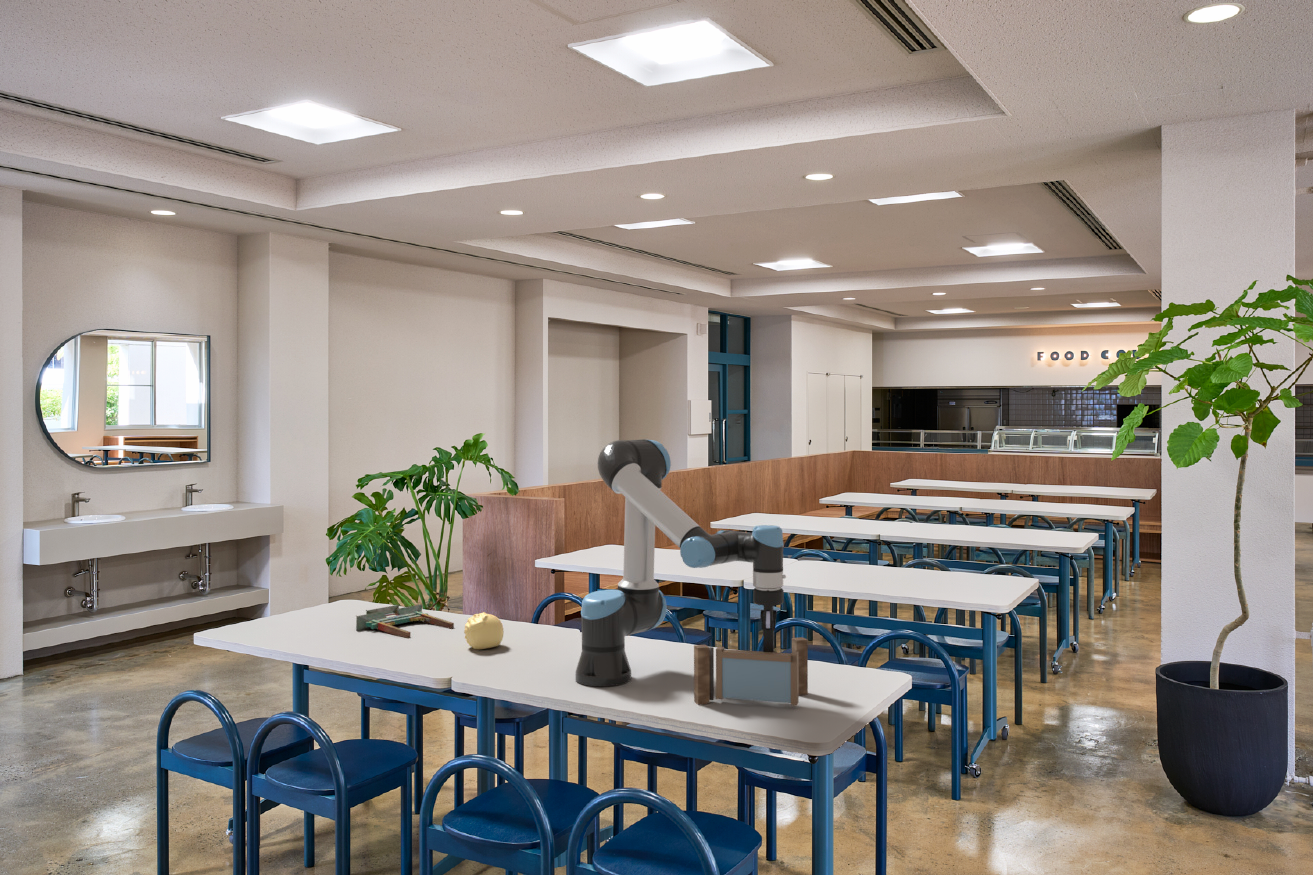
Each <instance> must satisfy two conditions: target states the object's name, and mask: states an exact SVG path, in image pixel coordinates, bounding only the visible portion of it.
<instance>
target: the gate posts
mask: <svg viewBox="0 0 1313 875" xmlns="http://www.w3.org/2000/svg"><path fill="white" fill-rule="evenodd" d="M808 641H809V640H808V639H806V638H805V637H803V636H802V637H792V638H791V652H792V651H795V652H798V669H799V696H806V695H808V694H809V693H808V692H809V691H808V690H809V688H808V687H809V685H808V683H809V682H808V676H809V674H808V673H809V672H808V665H809V664H808V663H809V658H808V652H809V650H808V645H809V644H808ZM714 648H715V647H713V646H708V645H706V644H697V645H696V644H695V645H693V663H694V664H693V691H694V693H693V701H694V703H696V704H697V705H698V706H699V705H700V704H701V705H708V704H707V703H711V702H710V701H714V698H715V694H714V693H715V692H714V691H715V689H714V688H715V685H714V683H715V678H714V676H715V673H714V672H715V670H714V668H715V667H714V666H715V664H714V662H715V658H714V655H715V654H714V653H715V652H714V651H715V649H714Z"/></svg>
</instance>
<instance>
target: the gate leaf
mask: <svg viewBox="0 0 1313 875" xmlns="http://www.w3.org/2000/svg"><path fill="white" fill-rule="evenodd" d="M775 652H776V651H774V652H764V651H758V650H757V651H756V650H755V651H754V650H742V649H741V650H740V649H727V648H725V647H724V646H717V648H715V694H716V695H715V699H716V700H723V699H735V700H744V701H745V700H747V701H761V702H772V703H783V704H790V705H791V706H798V704H799V698H800V697H799V696H800V695H799V669H798V652H795V651H792V650H791V653H787V652H777V653H775Z"/></svg>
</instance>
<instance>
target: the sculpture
mask: <svg viewBox="0 0 1313 875" xmlns="http://www.w3.org/2000/svg"><path fill="white" fill-rule="evenodd" d="M504 631H505V630H504V626H503V623H502V621H501V619H499V618H498V617H497V616H495V615H493V614H491V613H490V614H489V613H486V612H485V611H483V612H481V613H480V612H479V613H475V614H473V615H472V616H471V617H469V618H467V622H466V623H465V624H464V631H463V632H464V639H465V640H466V641H465V642H466V643H467V644H468V646H469V647H471V648H472V649H474V650H484V649H485V650H486V649H490V648H496V647H498V646H500V645H501V643H502V641H503V638H504Z"/></svg>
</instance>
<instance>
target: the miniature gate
mask: <svg viewBox="0 0 1313 875" xmlns="http://www.w3.org/2000/svg"><path fill="white" fill-rule="evenodd" d="M365 612H366V614H362V615H361V614H360V615H355V617H356V624H355V625H356V626H355V627H356V628H355V630H356V631H362V630H368V629H372V630H375V629H376V630H378V631H382V632H385V633H387V634H390V635H393V636H398V637H401V638H411V633H412V632H411V631H408V630H405V629H403V628H399V627H397V626H395V625H401V624H406V623H410V622H416V621H418V622H420V621H422V622H425V623H428V624H431V625H433V626H436V627H441V628H446V629H450V630H451V629H454V628H455V627H454V626H455V623H454V622H452V621H450V620H449V621H448V620H446V619H442V618H440V617H435V616H433V615H430V614H429V613H428V612H427V613H424V612H423V603H420V604H415V605H410V606H404V607H400V604H399V603H398V604H395V605H390V606H384V607H378V608H373V609H368V610H367V609H366V610H365Z"/></svg>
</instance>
